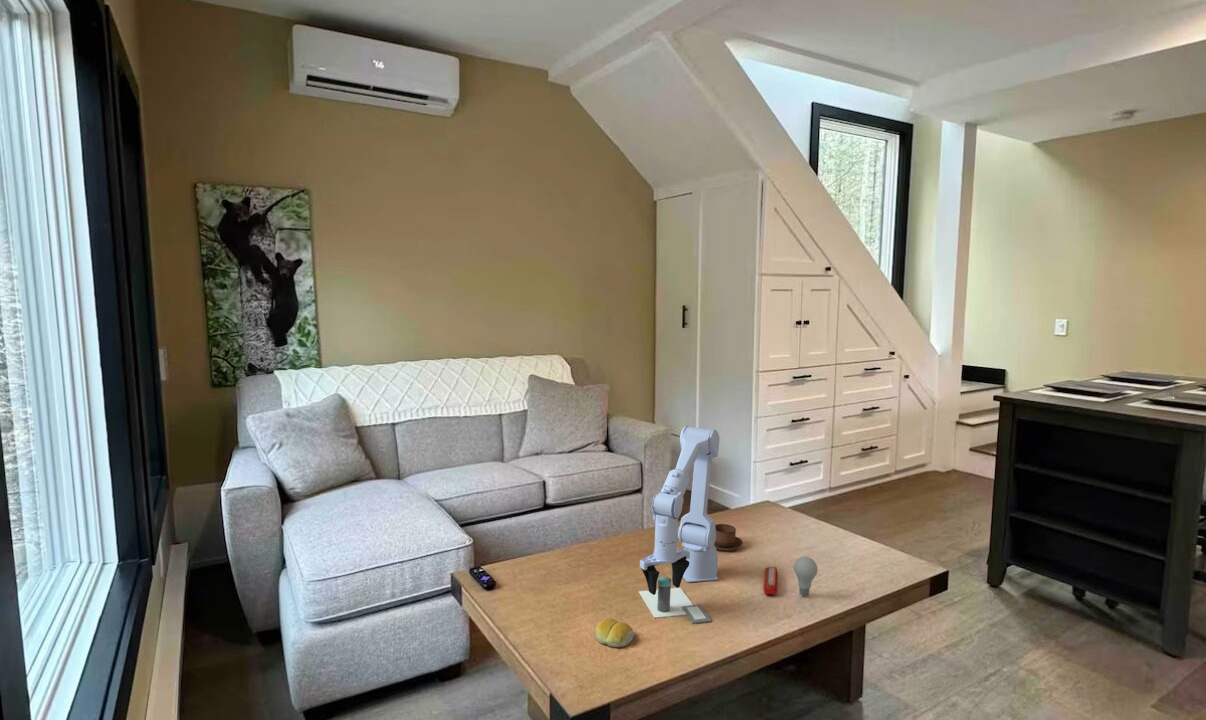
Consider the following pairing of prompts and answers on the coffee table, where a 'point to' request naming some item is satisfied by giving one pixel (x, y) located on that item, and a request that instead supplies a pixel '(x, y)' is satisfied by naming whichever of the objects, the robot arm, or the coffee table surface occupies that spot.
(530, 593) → the coffee table surface
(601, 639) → the bread roll
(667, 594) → the grey teal-capped tube
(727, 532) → the cup and saucer
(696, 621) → the picture frame
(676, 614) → the paper
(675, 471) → the robot arm
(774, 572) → the candy bar
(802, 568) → the lightbulb
